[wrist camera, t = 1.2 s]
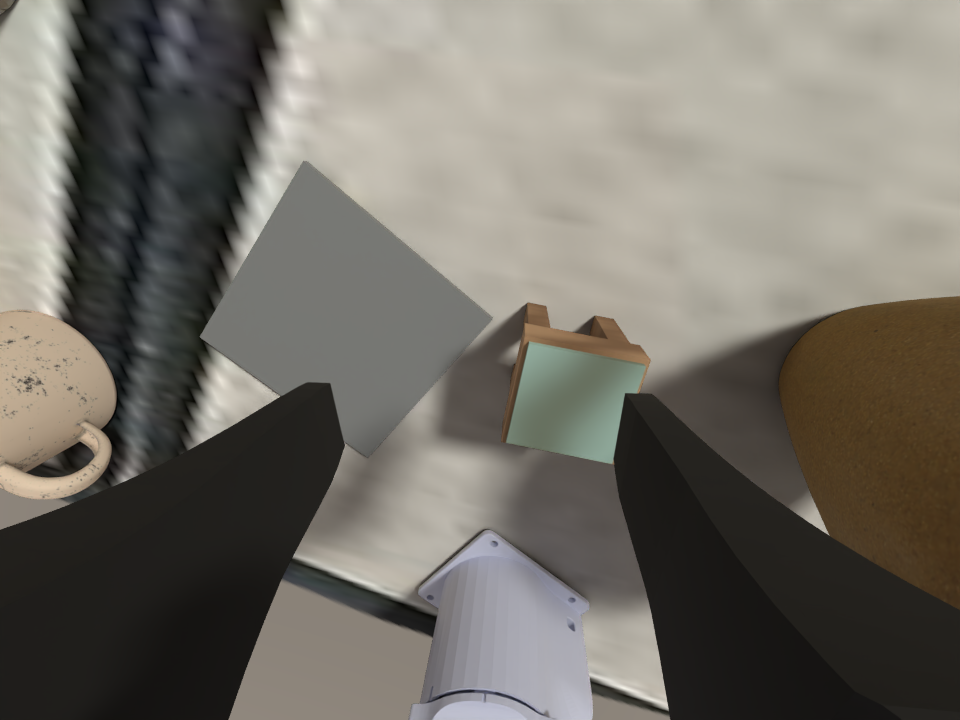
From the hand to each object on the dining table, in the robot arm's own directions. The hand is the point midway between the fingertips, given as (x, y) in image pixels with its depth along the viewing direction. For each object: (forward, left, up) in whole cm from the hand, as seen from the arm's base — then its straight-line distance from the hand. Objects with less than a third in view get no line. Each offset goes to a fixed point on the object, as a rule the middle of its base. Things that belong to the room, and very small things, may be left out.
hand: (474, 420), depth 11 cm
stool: (-4, 0, -13) cm, 14 cm away
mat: (+6, +7, -13) cm, 16 cm away
